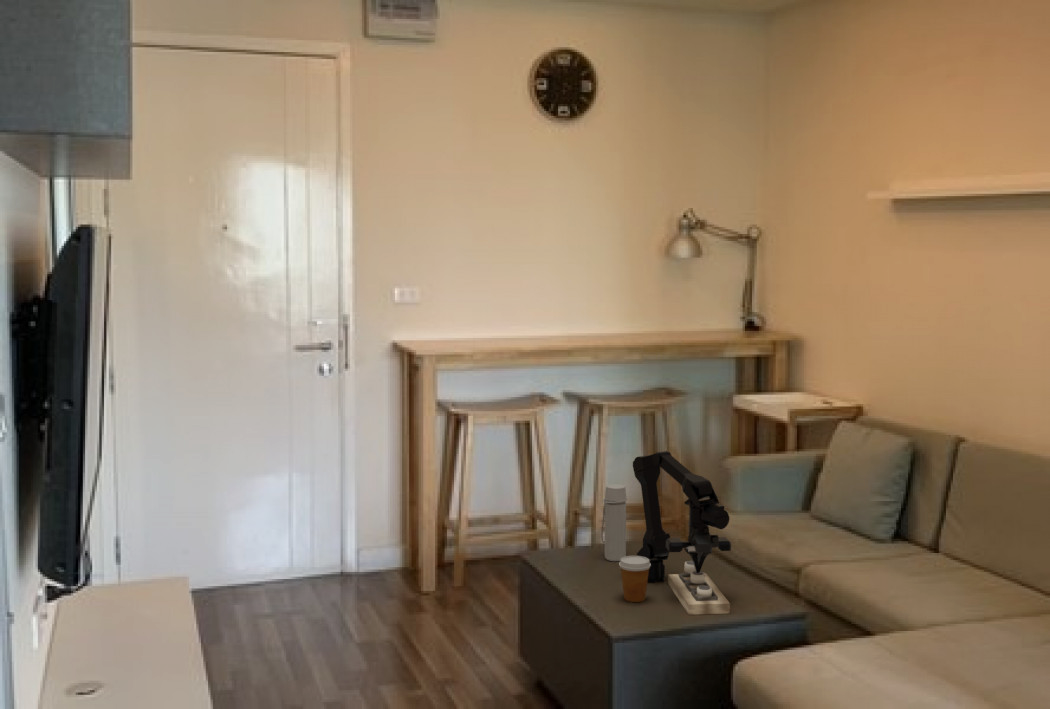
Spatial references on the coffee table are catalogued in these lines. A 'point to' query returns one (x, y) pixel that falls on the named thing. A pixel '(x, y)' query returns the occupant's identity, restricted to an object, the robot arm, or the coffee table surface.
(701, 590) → the front knob
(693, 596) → the knob console
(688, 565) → the back knob
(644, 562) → the disposable coffee cup
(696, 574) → the middle knob
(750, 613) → the coffee table surface
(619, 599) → the coffee table surface
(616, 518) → the water bottle
